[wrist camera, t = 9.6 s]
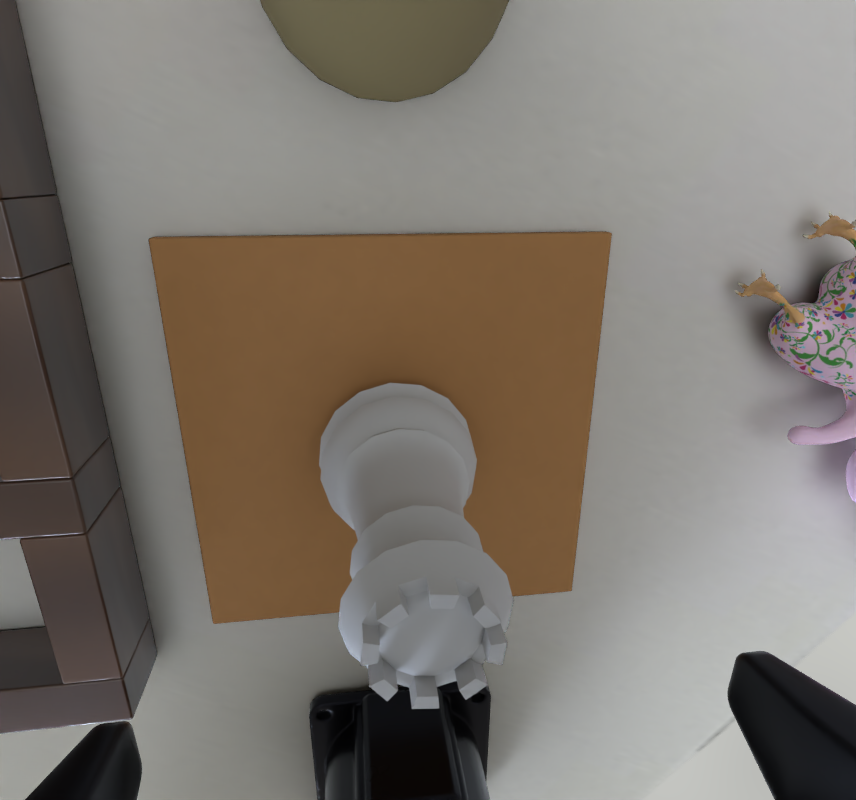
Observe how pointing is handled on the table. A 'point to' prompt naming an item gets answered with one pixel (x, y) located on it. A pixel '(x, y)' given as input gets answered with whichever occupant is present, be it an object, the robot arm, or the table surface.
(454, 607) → the rook chess piece
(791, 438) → the pink creature figurine
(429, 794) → the robot arm
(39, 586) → the piece rack
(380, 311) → the cork mat
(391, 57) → the pepper shaker
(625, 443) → the table surface
